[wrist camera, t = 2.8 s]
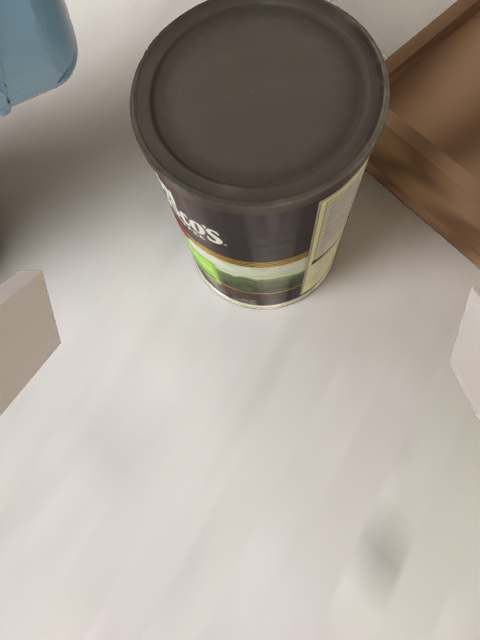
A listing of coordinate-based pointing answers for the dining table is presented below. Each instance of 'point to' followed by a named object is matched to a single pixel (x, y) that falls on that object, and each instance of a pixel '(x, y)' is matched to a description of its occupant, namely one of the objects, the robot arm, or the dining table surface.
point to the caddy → (436, 127)
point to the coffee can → (261, 137)
